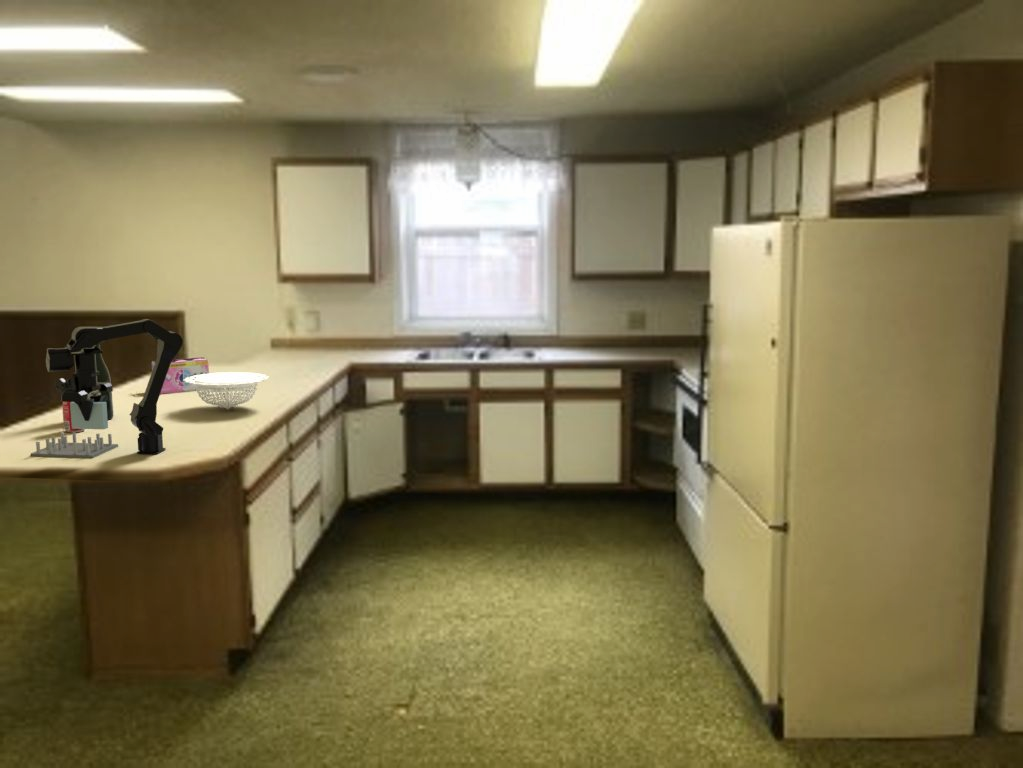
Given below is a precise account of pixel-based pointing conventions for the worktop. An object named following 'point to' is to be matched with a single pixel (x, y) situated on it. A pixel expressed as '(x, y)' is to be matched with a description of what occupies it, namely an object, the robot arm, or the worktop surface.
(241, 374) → the colander
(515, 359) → the worktop surface
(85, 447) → the dish rack
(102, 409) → the light blue rectangular slab
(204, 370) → the gum box
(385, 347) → the worktop surface
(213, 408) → the worktop surface
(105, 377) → the dark green wine bottle
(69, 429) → the soda can
